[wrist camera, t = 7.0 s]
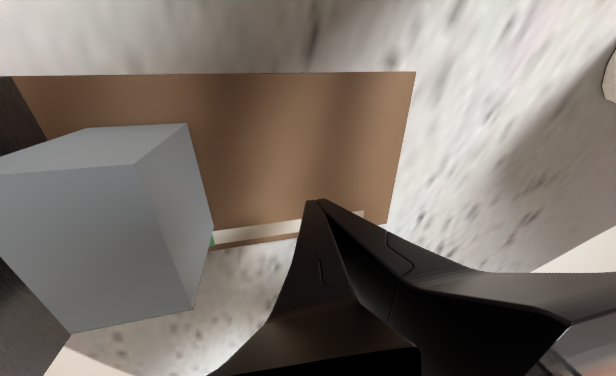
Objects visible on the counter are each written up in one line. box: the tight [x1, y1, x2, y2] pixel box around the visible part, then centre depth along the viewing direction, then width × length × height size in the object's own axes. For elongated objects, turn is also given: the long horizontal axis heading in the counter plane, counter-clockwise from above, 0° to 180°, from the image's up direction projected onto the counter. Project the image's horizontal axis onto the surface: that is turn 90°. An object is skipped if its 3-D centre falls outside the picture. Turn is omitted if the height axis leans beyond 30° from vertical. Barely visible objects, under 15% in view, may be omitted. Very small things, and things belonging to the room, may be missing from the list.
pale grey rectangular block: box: [0, 123, 214, 334], centre depth 9 cm, size 4×8×5 cm, turn 1°
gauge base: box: [0, 72, 416, 251], centre depth 12 cm, size 20×10×1 cm, turn 91°
